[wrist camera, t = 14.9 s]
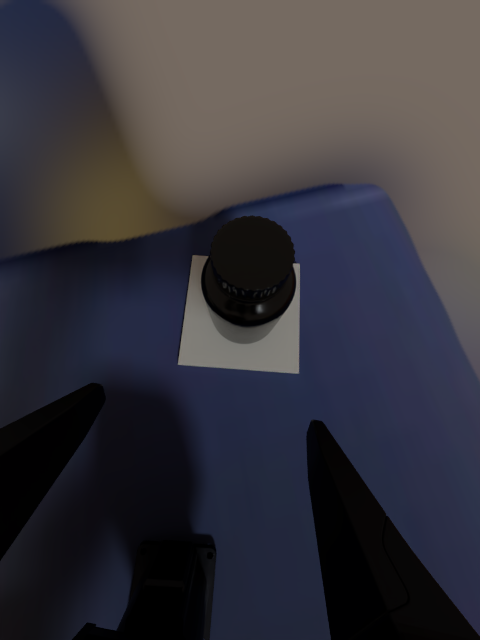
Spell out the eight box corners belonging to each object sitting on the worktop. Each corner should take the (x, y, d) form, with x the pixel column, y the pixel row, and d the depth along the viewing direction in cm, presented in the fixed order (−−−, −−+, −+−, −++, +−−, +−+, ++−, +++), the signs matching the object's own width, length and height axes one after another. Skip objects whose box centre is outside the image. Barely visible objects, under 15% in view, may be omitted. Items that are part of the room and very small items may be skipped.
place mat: (297, 373, 24) (298, 373, 23) (179, 364, 23) (177, 364, 23) (298, 266, 27) (299, 263, 26) (193, 257, 26) (192, 255, 26)
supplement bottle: (288, 306, 25) (338, 242, 13) (251, 358, 23) (270, 339, 12) (236, 270, 25) (240, 180, 14) (197, 319, 24) (164, 263, 12)
